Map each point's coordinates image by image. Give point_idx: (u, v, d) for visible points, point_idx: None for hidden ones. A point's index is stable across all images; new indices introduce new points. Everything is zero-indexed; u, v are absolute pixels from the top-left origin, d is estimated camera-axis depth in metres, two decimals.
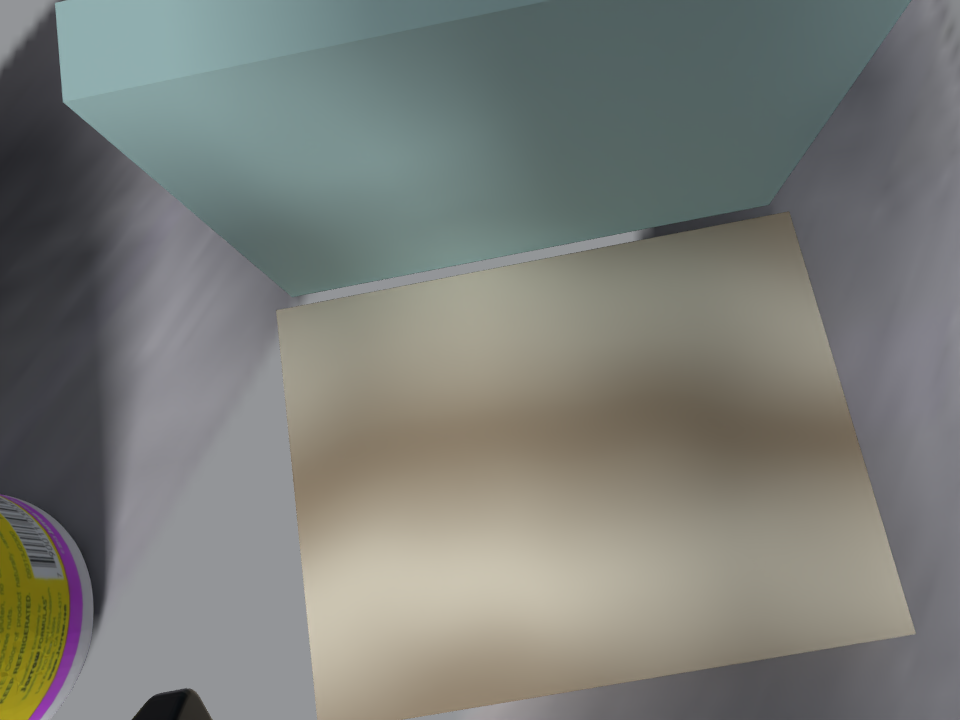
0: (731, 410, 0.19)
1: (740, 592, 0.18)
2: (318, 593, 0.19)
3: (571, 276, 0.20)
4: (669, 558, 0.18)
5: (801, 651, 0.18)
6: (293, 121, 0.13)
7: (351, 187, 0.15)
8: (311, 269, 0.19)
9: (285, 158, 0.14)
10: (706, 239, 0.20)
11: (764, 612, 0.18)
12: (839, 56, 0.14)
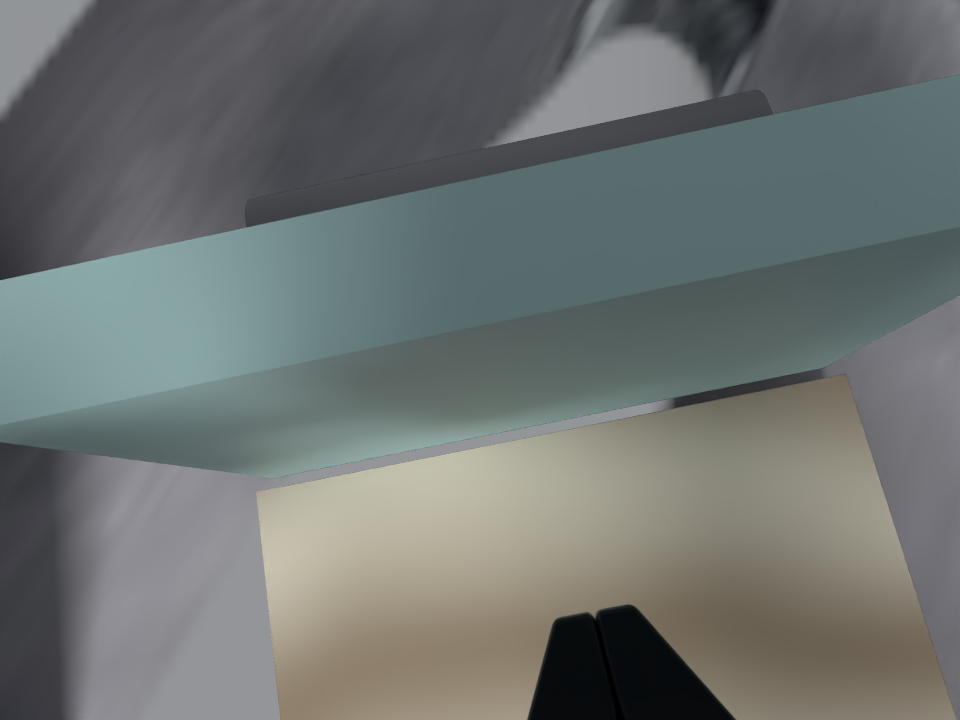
0: (787, 619, 0.16)
1: None
2: None
3: (596, 452, 0.18)
4: None
5: None
6: (260, 404, 0.10)
7: (338, 424, 0.12)
8: (295, 464, 0.16)
9: (255, 423, 0.11)
10: (751, 407, 0.18)
11: None
12: (945, 286, 0.11)
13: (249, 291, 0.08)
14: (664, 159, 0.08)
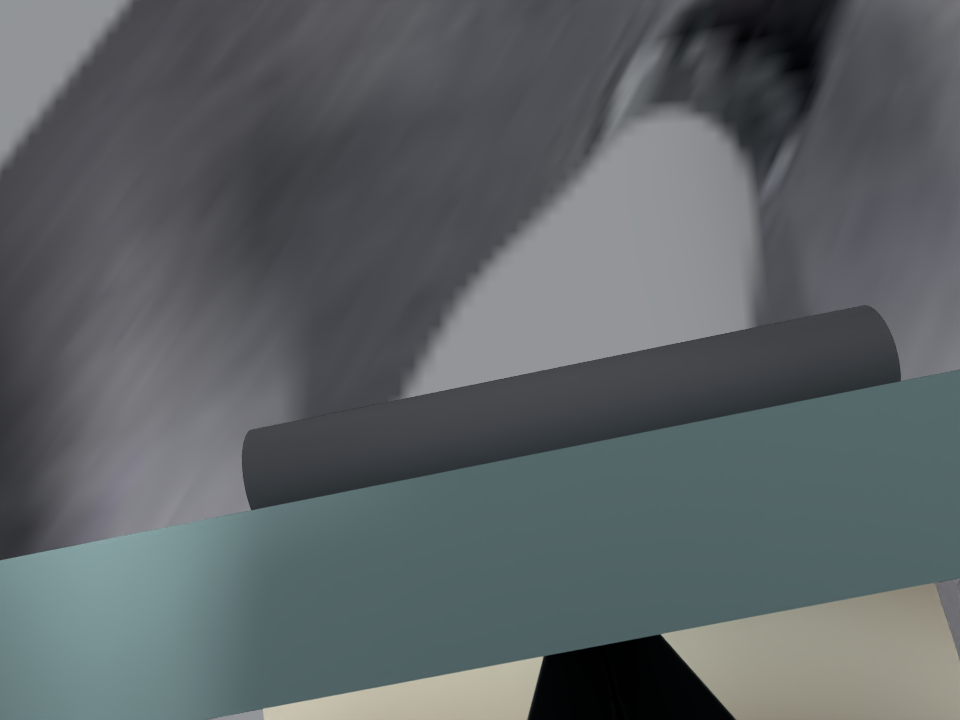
0: None
1: None
2: None
3: None
4: None
5: None
6: None
7: None
8: None
9: None
10: None
11: None
12: None
13: (245, 597, 0.07)
14: (775, 435, 0.06)
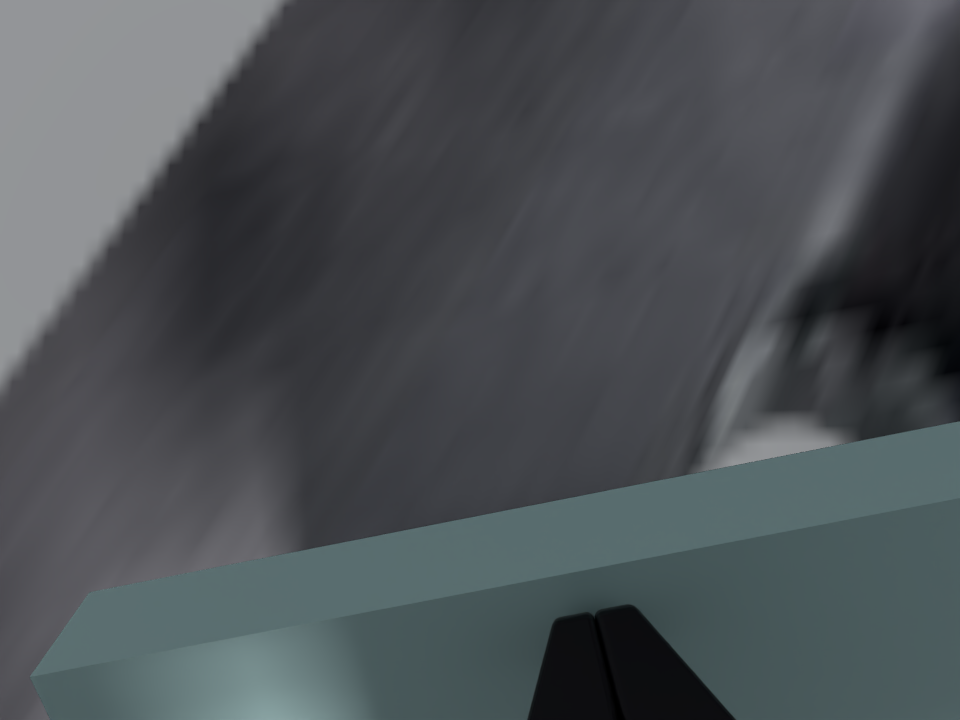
0: None
1: None
2: None
3: None
4: None
5: None
6: None
7: None
8: None
9: None
10: None
11: None
12: None
13: (337, 573, 0.09)
14: (702, 481, 0.10)
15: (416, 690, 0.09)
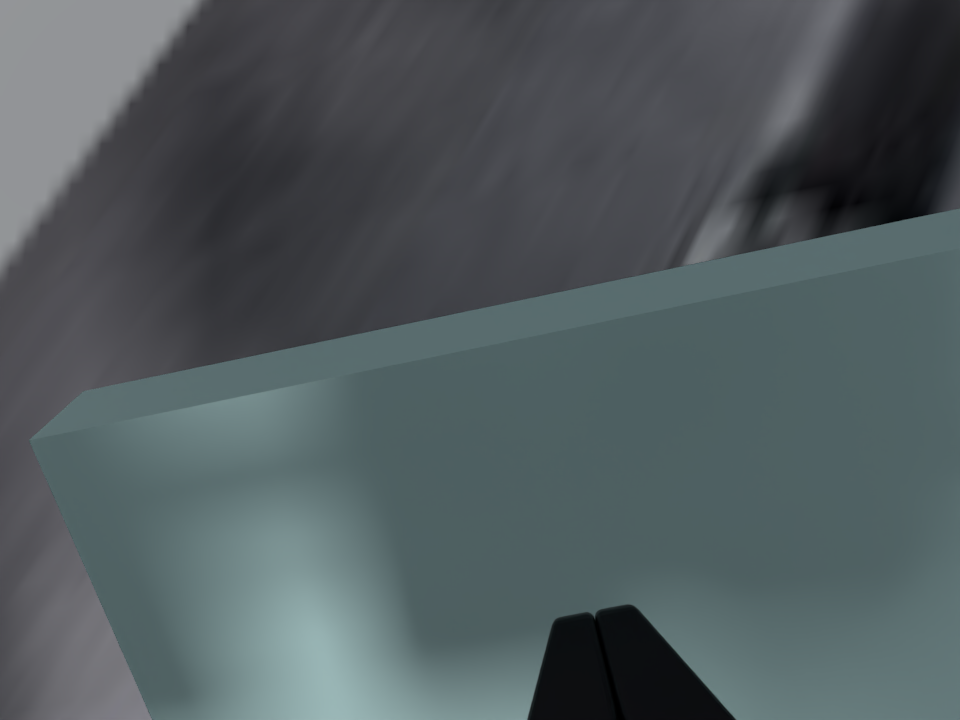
0: None
1: None
2: None
3: None
4: None
5: None
6: (289, 518, 0.10)
7: (365, 688, 0.11)
8: None
9: (278, 600, 0.10)
10: None
11: None
12: None
13: (309, 359, 0.10)
14: (645, 279, 0.10)
15: (381, 456, 0.10)
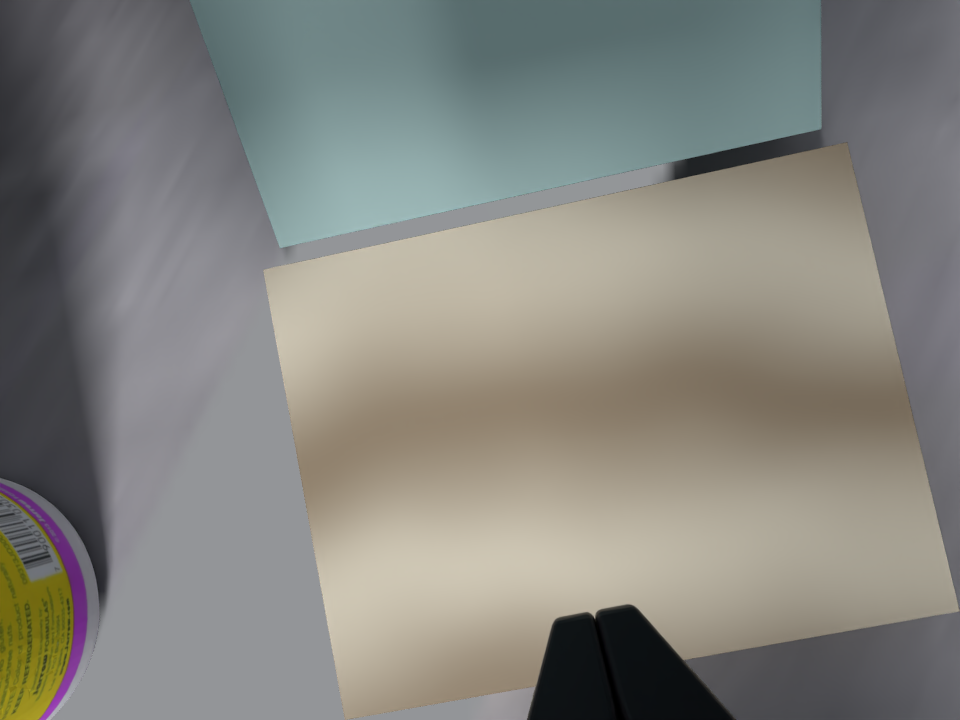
0: (774, 377, 0.18)
1: (778, 572, 0.17)
2: (334, 580, 0.18)
3: (596, 224, 0.18)
4: (704, 538, 0.17)
5: (840, 630, 0.17)
6: None
7: None
8: (298, 166, 0.18)
9: None
10: (751, 178, 0.18)
11: (803, 591, 0.17)
12: None
13: None
14: None
15: None
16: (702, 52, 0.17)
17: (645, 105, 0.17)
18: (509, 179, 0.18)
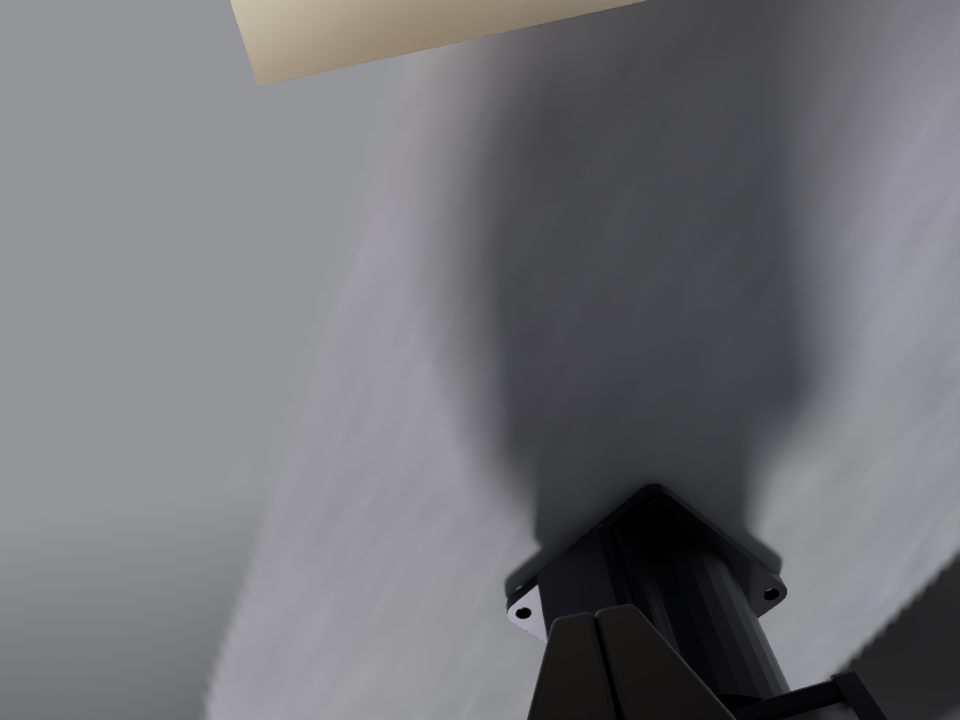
0: None
1: None
2: None
3: None
4: None
5: None
6: None
7: None
8: None
9: None
10: None
11: None
12: None
13: None
14: None
15: None
16: None
17: None
18: None
